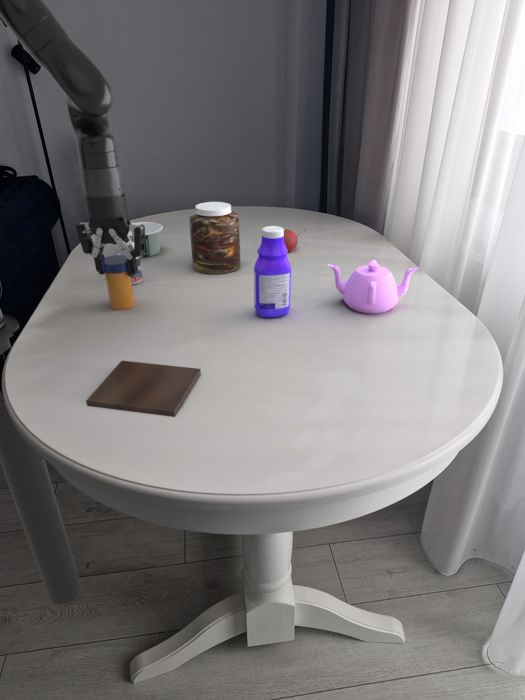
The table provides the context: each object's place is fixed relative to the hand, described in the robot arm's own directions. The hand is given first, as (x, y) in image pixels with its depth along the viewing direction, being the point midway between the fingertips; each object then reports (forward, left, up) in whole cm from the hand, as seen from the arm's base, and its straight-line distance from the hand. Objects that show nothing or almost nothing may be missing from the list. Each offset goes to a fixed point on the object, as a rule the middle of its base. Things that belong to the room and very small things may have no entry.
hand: (117, 274), depth 105 cm
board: (+18, -29, -7) cm, 35 cm away
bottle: (+32, +2, -7) cm, 33 cm away
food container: (-10, +33, -7) cm, 35 cm away
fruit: (+29, +42, -7) cm, 52 cm away
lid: (0, 0, +3) cm, 3 cm away
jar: (+13, +26, -7) cm, 30 cm away
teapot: (+51, +10, -7) cm, 52 cm away
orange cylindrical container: (0, 0, -7) cm, 7 cm away
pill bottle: (-4, +13, -7) cm, 15 cm away
